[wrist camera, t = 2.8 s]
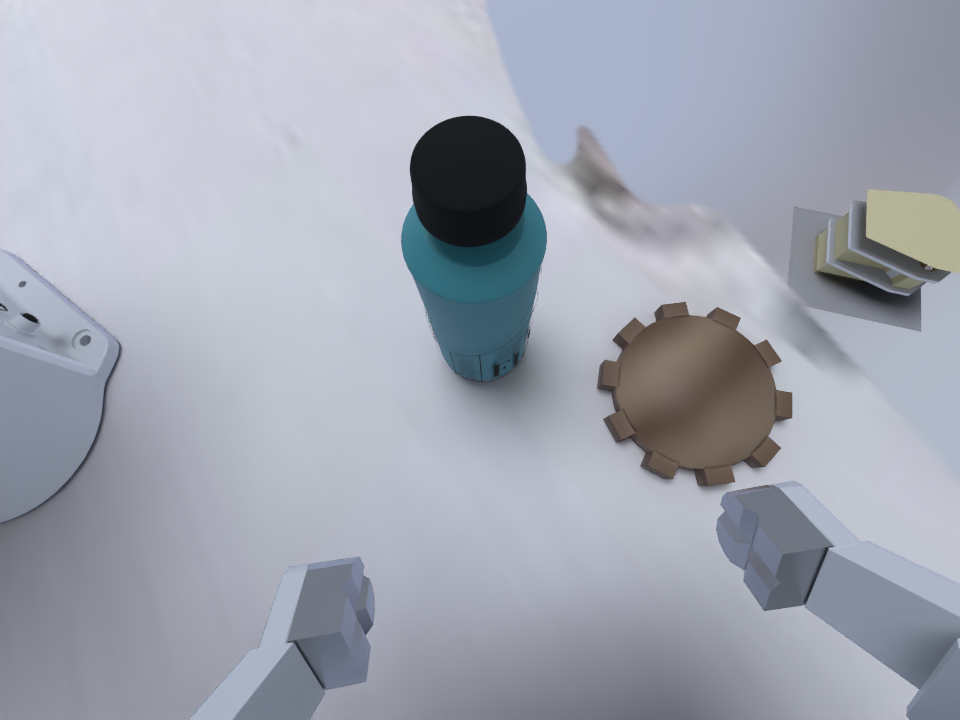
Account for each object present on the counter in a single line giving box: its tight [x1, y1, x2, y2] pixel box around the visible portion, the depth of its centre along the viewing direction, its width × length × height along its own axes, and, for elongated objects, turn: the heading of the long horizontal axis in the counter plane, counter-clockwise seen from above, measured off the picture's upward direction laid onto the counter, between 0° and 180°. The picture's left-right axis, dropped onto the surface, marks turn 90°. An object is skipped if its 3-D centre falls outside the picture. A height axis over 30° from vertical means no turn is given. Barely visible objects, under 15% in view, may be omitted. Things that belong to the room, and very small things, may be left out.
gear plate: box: [597, 302, 792, 486], centre depth 31 cm, size 13×13×2 cm
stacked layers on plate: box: [787, 189, 960, 332], centre depth 32 cm, size 10×9×6 cm
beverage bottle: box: [401, 116, 547, 382], centre depth 23 cm, size 6×7×20 cm
